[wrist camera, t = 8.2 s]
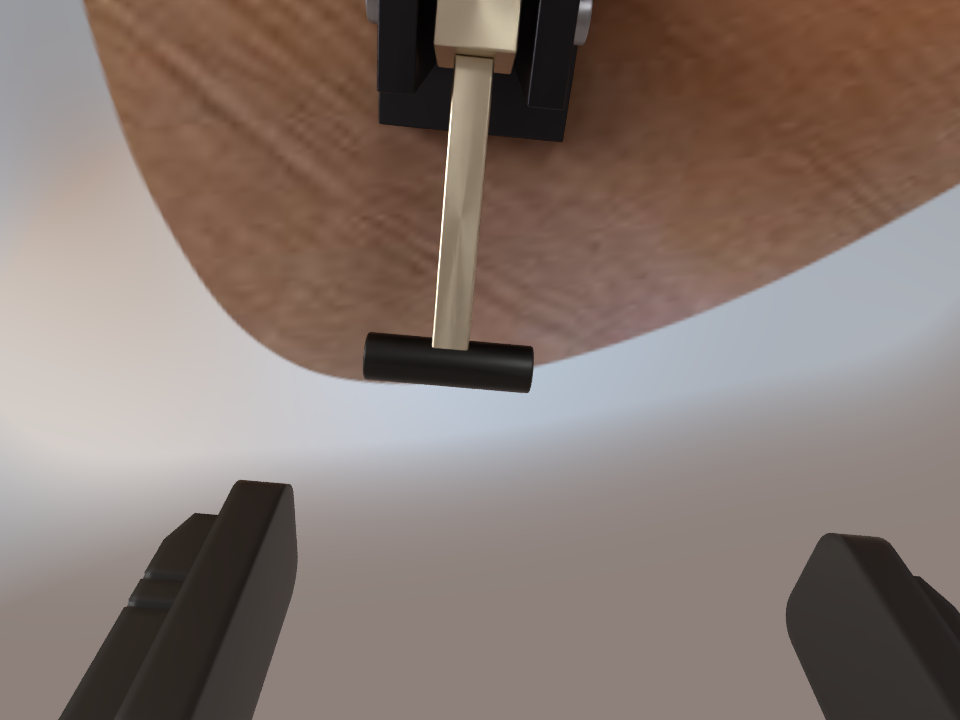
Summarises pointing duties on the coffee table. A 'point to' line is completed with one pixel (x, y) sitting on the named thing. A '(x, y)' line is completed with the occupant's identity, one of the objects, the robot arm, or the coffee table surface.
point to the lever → (461, 214)
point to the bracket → (515, 97)
